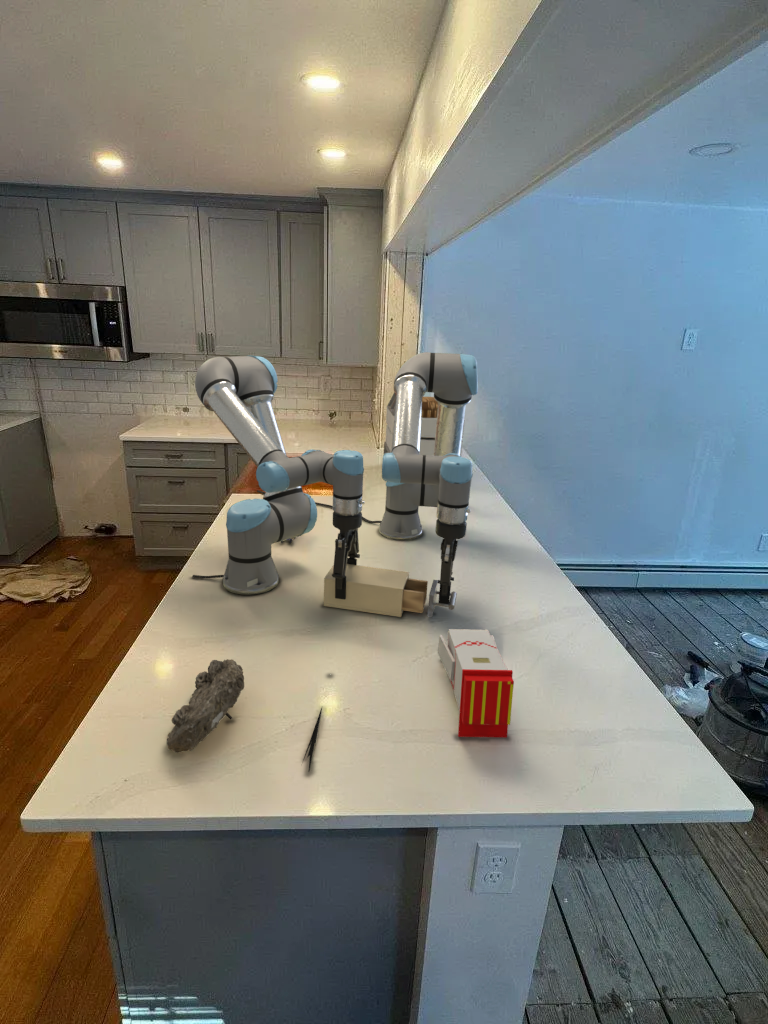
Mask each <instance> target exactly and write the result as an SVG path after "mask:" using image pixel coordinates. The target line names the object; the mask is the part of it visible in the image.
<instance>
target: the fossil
mask: <svg viewBox="0 0 768 1024" xmlns="http://www.w3.org/2000/svg"><path fill="white" fill-rule="evenodd" d="M243 670H244V669H243V667H242V665H240V664H237V662H236V661H235V660H234V659H232V658H231V659H227V658H226V659H224V660H223V661H222V660H217V659H212V660H211V661H210V663H209V665H208V666H207V671H201V672H199V673H198V674H197V675H196V676H195V680H194V684H195V685H194V687H195V689H194V690H193V693H192V694H191V697H190V698H189V700H188V704H184V705H182V706H181V707H180V709H177V710H176V711H175V713H174V715H173V716H172V718H171V723H172V724H173V727H172V730H171V731H170V732H168V734H167V738H166V741H167V742H166V745H167V749H168V750H169V751H173V752H174V753H176V754H178V753H182V752H188V751H189V752H192V751H193V750H195V748H196V747H197V746H199V744H200V743H201V742H203V741H204V740H205V739H206V738H207V737H208V736H209V735H210V734H211V733H212V732H214V730H215V729H217V727H218V726H219V724H220V722H221V721H222V720H223V719H224V718H225V716H226V717H227V719H229V720H233V717H232V715H230V714H229V710H230V709H231V708H234V706H235V704H236V703H237V702H238V699H239V697H240V695H241V693H242V691H243V690H245V689H244V688H245V675H244V671H243Z"/></svg>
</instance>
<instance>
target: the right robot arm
mask: <svg viewBox="0 0 768 1024" xmlns="http://www.w3.org/2000/svg"><path fill="white" fill-rule="evenodd" d="M478 378H479V377H478V361H477V358H476V357H475V356H474V355H472V354H465V353H451V352H448V353H447V352H430V351H425V352H420V353H417V354H415V355H413V356H412V357H410V358H408V359H407V360H406V361H405V362H404V363H403V364H402V365H401V367H399V369H398V371H397V372H396V374H395V377H394V381H393V393H394V392H395V394H396V406H395V417H394V427H393V438H392V449H391V452H390V453H385V454H384V453H383V455H382V460H381V478H382V480H383V481H384V482H385V487H386V488H385V489H386V490H385V504H384V505H385V507H384V508H385V509H384V513H383V515H382V519H381V520H369V519H367V518H366V517H364V516H362V521H364V522H367V523H368V524H369V523H370V524H379V527H378V533H379V534H380V535H381V536H382V537H385V538H387V539H389V540H395V541H410V540H415V539H418V538H420V537H421V536H422V535H423V525H422V524H421V518H420V515H419V507H425V508H426V507H427V508H436V522H435V535H436V536H438V537H439V538H442V539H441V542H440V551H441V552H440V559H441V560H440V561H441V563H440V564H441V565H440V577H439V578H440V579H437V580H438V584H439V590H438V591H439V594H438V602H437V603H442V604H449V601H450V593H451V591H452V589H451V588H452V582H453V581H455V577H452V576H453V573H454V572H453V569H454V561H455V559H456V554H457V549H458V545H459V540H461V539H463V538H465V537H466V534H467V527H468V526H467V525H468V523H467V520H468V516H469V515H468V514H470V513H471V512H472V511H471V508H469V505H470V495H471V494H470V493H471V487H472V478H473V475H474V473H473V462H472V460H471V459H468V458H467V457H462V455H461V456H460V449H461V441H463V438H462V432H463V424H464V425H465V421H464V420H465V416H466V415H465V414H466V406H467V405H468V404H469V403H470V402H471V401H472V397H473V396H475V395H478V390H479V383H478V382H479V381H478ZM426 393H433V397H434V399H435V400H436V401H437V402H438V410H437V422H436V433H435V445H434V456H430V455H419V452H420V433H421V415H422V397H425V395H426ZM463 433H464V432H463ZM256 492H257V493H259V494H262V495H265V493H266V492H265V491H263V490H262V491H261V490H258V489H257V490H256ZM315 504H316V506H322V507H327V508H331V509H333V505H331V504H327V503H321V502H316V501H315Z"/></svg>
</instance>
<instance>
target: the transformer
mask: <svg viewBox="0 0 768 1024" xmlns="http://www.w3.org/2000/svg"><path fill="white" fill-rule="evenodd" d="M395 406H396V394H395V392H394V391H393V394H392V395H391V398H390V400H389V402H388V404H387V405H386V413H385V414H386V415H385V423H386V428H385V438H384V442H383V455H384V454H385V453H390V452H391V449H392V438H393V427H394V417H395ZM437 410H438V402H437V401H436V400H435V399H434V396H423V397H422V415H421V433H420V452H419V455H430V456H434V445H435V433H436V422H437ZM464 422H465V419H464ZM464 429H465V423H464V424H463V432H462V439H463V438H464V431H465V430H464ZM463 442H464V441H463V440H462V441H461V449H460V456H461V457H462V453H463Z"/></svg>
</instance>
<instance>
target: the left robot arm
mask: <svg viewBox="0 0 768 1024" xmlns="http://www.w3.org/2000/svg"><path fill="white" fill-rule="evenodd" d="M277 383H278V375H277V371H276V369H275V368H274V365H273V364H272V363H271V361H269V360H268V359H267V358H265V357H263V356H260V355H250V354H249V355H241V356H237V355H236V356H214V357H211V358H209V359H207V360H206V361H204V362H203V363H202V364H201V365H200V366H199V368H198V369H197V372H196V375H195V380H194V388H195V392H196V395H197V398H198V399H199V401H200V402H201V404H202V405H203V406H204V408H205V409H206V410H208V411H210V412H213V413H215V415H216V417H217V418H218V420H220V422H221V423H222V424H223V425H224V427H225V428H226V429H227V430H228V432H229V433H230V435H231V436H232V437H233V439H235V441H236V442H237V443H238V445H239V446H240V447H241V448H242V450H244V452H245V453H246V455H247V457H249V458H250V460H251V461H252V462H253V464H254V465H255V466H256V471H255V477H256V478H255V479H256V481H257V482H258V487H259V488H260V489H261V490H262V492H265V494H263V497H262V498H252V499H251V498H248V499H243V500H240V501H237V502H235V503H234V504H232V505H231V506H230V507H229V508H228V509H227V511H226V522H225V526H226V534H227V535H226V536H227V552H228V560H227V563H226V566H225V570H224V573H223V574H217V575H216V574H215V575H214V574H213V575H198V574H192V576H191V577H192V578H193V579H195V578H196V579H205V580H206V579H207V580H208V579H217V578H218V579H219V578H220V579H221V578H222V584H223V588H224V589H225V590H226V591H228V592H230V593H233V594H236V595H242V596H252V595H260V594H264V593H267V592H269V591H271V590H273V589H275V588H276V587H277V586H278V584H279V578H280V577H279V572H278V570H277V567H276V565H275V564H276V563H275V562H274V559H273V557H272V556H273V555H272V546H273V545H274V544H277V543H281V541H283V542H284V541H288V540H287V539H289V540H290V538H294V537H295V538H298V537H301V536H303V535H305V534H308V533H310V532H311V531H312V530H313V529H314V528H315V526H316V523H317V520H318V508H317V505H316V504H315V502H316V501H315V500H314V498H313V497H312V495H310V494H309V493H305V492H304V490H303V487H304V486H308V485H312V484H316V483H317V484H318V483H325V484H327V485H331V486H332V506H333V508H332V511H333V512H332V525H333V527H334V528H335V529H338V530H339V533H337V538H336V539H335V540H334V559H333V565H334V567H333V574H332V576H333V577H334V578H335V598H337V599H344V600H345V599H346V576H345V572H346V565H347V564H351V565H358V559H360V558H361V554H360V546H359V545H360V543H359V528H361V527H362V525H363V519H362V517H363V512H362V511H363V505H364V504H365V500H363V493H364V492H363V489H364V473H365V468H364V455H363V454H362V453H361V452H360V451H357V450H350V449H341V450H336V451H335V452H334V453H333V454H331V453H328V452H325V451H323V450H320V449H308V450H307V449H306V451H304V452H303V453H302V454H301V455H297V456H293V457H292V456H291V457H288V455H287V452H286V449H285V445H284V442H283V438H282V436H281V432H280V429H279V426H278V425H279V424H278V422H277V419H276V415H275V412H274V408H273V406H272V403H273V402H274V400H275V393H276V392H277V389H278V384H277ZM295 538H294V539H295Z"/></svg>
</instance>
